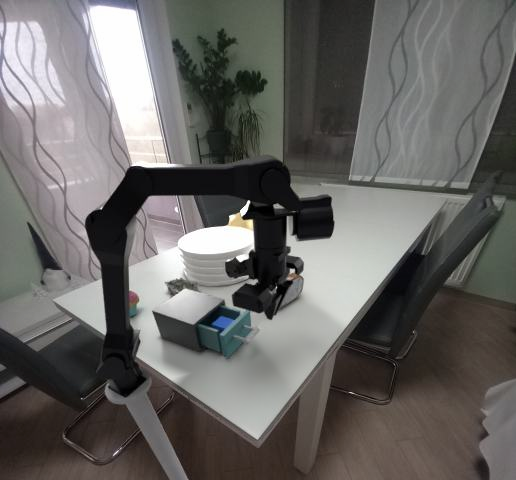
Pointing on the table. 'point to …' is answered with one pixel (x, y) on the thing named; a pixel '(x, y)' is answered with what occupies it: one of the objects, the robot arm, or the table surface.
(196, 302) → the cabinet
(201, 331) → the drawer
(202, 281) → the plate stack
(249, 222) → the sculpture
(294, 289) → the tin
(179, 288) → the egg carton
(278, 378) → the table surface
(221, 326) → the blue toy brick
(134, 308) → the cupcake
